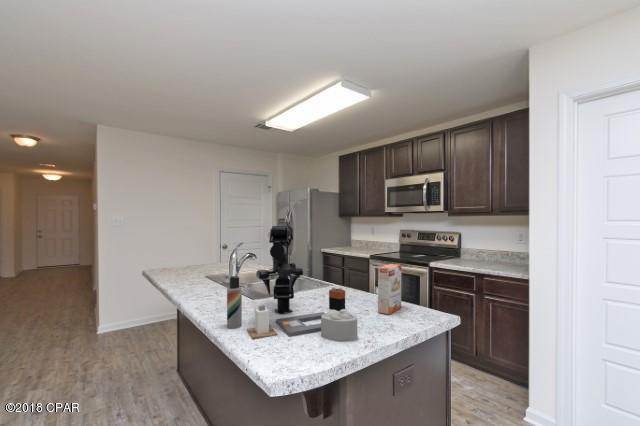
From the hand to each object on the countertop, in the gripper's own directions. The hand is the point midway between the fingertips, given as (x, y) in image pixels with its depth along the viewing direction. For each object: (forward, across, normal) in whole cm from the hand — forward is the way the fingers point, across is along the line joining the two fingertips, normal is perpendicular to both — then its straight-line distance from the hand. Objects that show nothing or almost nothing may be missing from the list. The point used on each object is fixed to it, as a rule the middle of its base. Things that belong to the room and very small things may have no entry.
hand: (280, 293), depth 128 cm
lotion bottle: (+12, -18, +4) cm, 22 cm away
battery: (+12, +30, +6) cm, 33 cm away
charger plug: (+11, -10, -8) cm, 17 cm away
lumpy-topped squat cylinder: (+12, +16, -24) cm, 31 cm away
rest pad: (+12, -10, -8) cm, 17 cm away
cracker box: (+12, +51, -7) cm, 53 cm away
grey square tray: (+12, +9, -8) cm, 17 cm away
